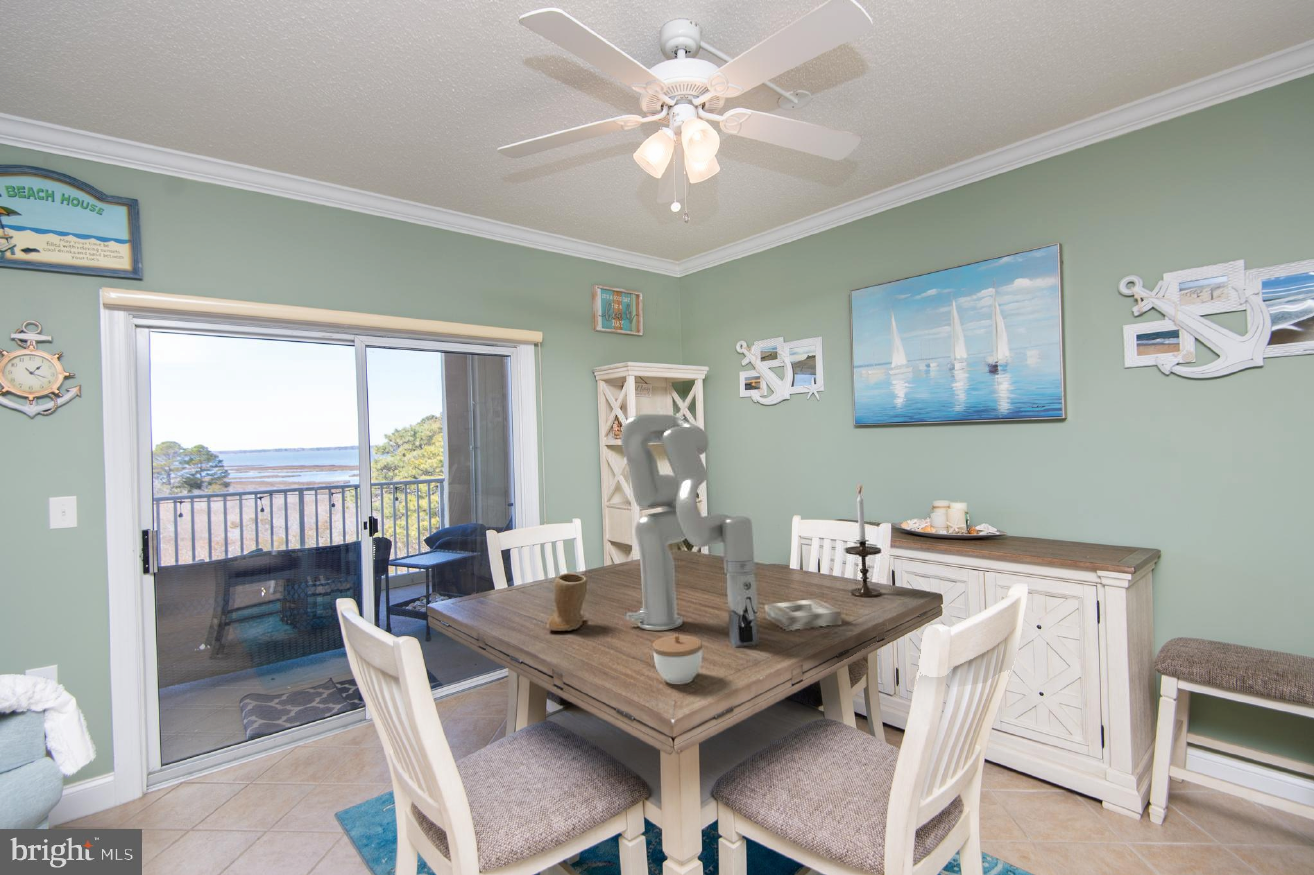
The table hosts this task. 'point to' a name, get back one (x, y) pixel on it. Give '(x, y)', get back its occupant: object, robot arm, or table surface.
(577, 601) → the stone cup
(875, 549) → the candlestick
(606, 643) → the table surface
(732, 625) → the upright grey box
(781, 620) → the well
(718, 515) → the robot arm
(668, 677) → the lidded jar
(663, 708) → the table surface
